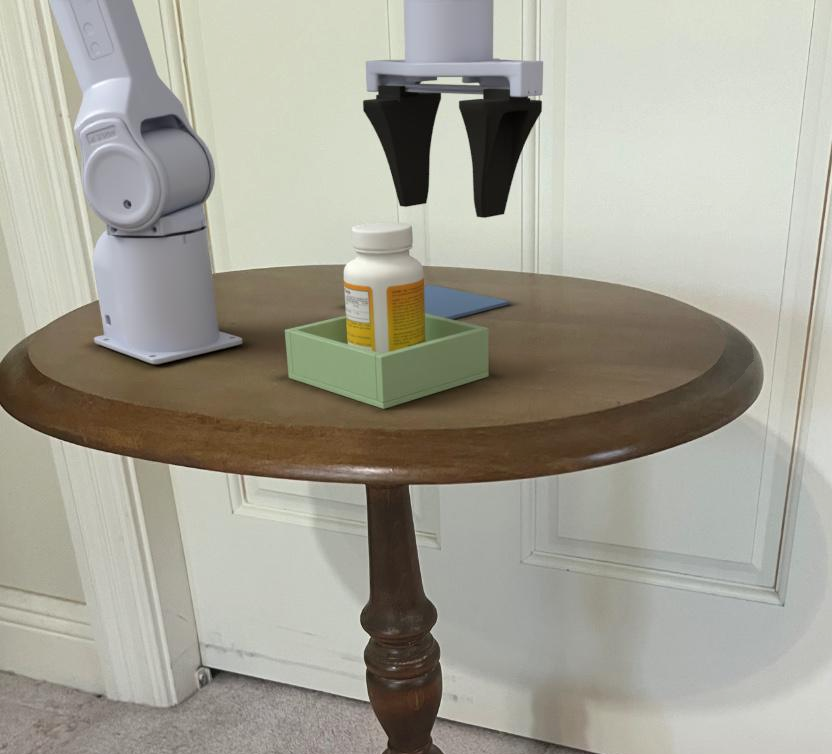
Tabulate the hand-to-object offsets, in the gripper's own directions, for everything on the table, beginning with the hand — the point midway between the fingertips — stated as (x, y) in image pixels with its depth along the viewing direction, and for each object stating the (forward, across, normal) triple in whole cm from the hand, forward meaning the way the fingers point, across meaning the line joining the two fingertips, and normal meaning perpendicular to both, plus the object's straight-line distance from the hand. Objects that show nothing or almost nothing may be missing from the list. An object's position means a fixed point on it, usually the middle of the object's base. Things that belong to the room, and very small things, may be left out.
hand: (450, 210), depth 75 cm
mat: (+10, +13, -10) cm, 20 cm away
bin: (+10, 0, +6) cm, 12 cm away
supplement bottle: (+10, 0, +6) cm, 12 cm away
